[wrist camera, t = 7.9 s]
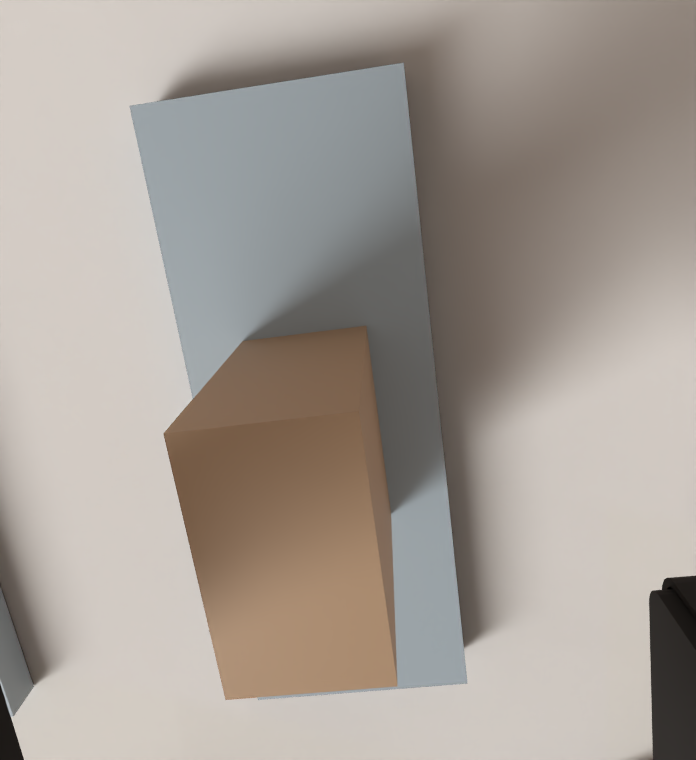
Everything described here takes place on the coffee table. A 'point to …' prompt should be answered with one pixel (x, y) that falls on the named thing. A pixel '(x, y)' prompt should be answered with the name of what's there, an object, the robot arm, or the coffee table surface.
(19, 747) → the robot arm
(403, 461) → the grey slab
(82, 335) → the coffee table surface
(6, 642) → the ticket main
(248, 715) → the coffee table surface
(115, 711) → the coffee table surface
